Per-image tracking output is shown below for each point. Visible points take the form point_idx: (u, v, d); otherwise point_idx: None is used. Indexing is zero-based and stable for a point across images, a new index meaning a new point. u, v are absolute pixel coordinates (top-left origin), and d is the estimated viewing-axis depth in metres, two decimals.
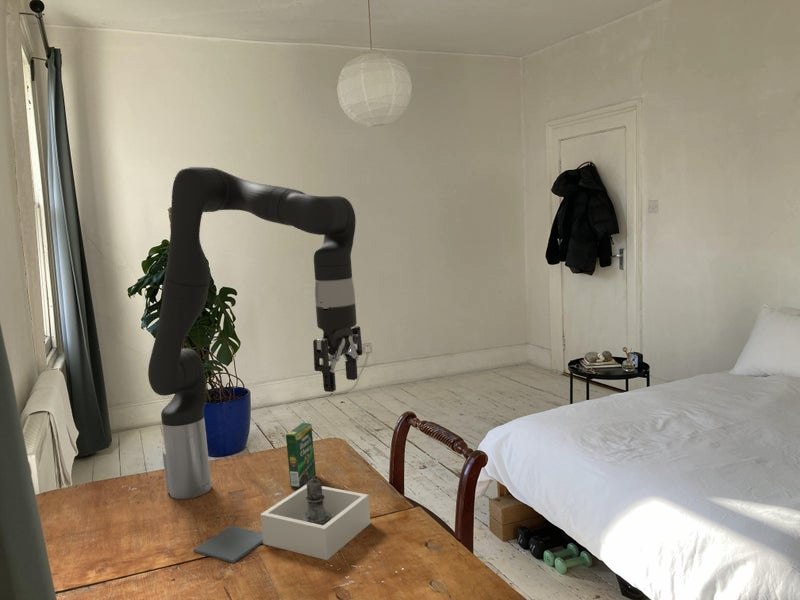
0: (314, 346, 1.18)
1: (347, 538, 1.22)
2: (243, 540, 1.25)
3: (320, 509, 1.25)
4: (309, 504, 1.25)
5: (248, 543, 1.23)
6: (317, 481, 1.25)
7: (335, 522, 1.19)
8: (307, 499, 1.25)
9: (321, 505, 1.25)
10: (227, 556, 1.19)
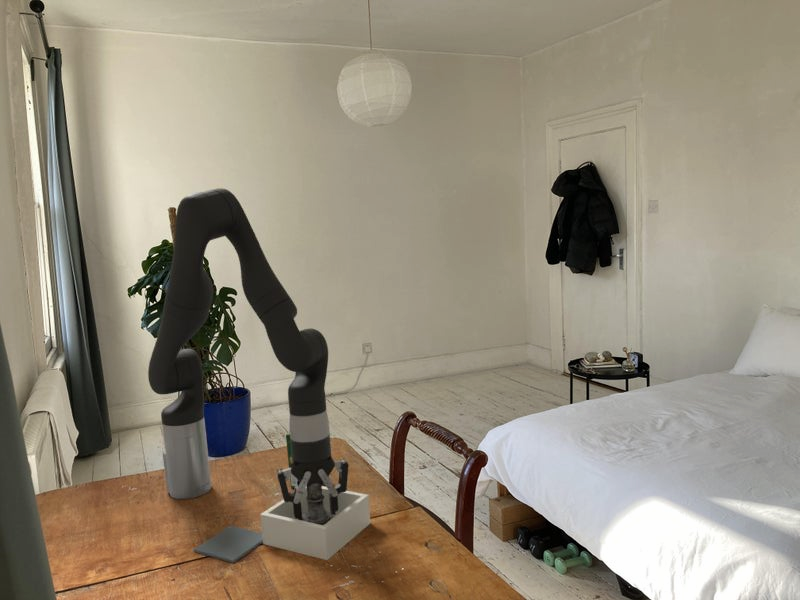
0: (347, 468, 1.26)
1: (347, 538, 1.22)
2: (243, 540, 1.25)
3: (320, 509, 1.25)
4: (309, 504, 1.25)
5: (248, 543, 1.23)
6: None
7: (335, 522, 1.19)
8: (307, 499, 1.25)
9: (321, 505, 1.25)
10: (227, 556, 1.19)
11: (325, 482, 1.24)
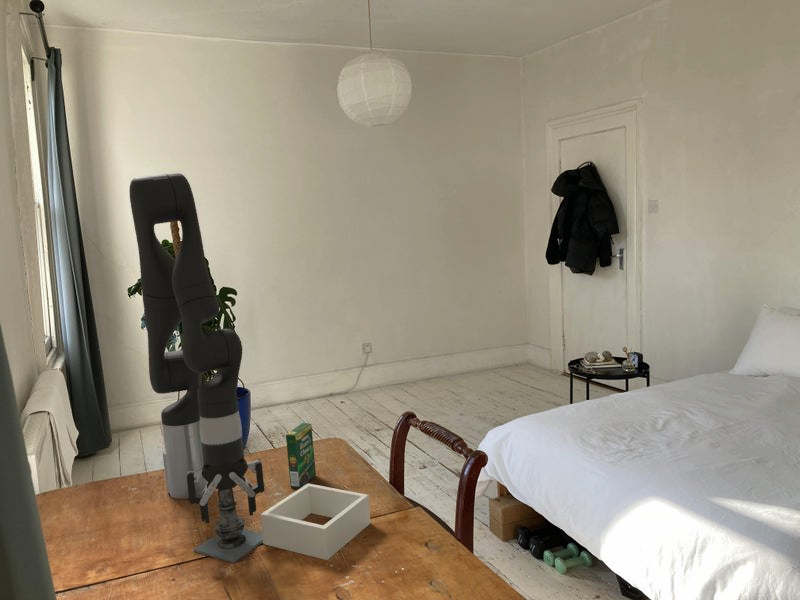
0: None
1: (347, 538, 1.22)
2: None
3: (232, 516, 1.23)
4: (220, 511, 1.23)
5: (248, 543, 1.23)
6: None
7: (335, 522, 1.19)
8: (218, 506, 1.23)
9: (233, 512, 1.23)
10: (227, 556, 1.19)
11: (239, 484, 1.22)
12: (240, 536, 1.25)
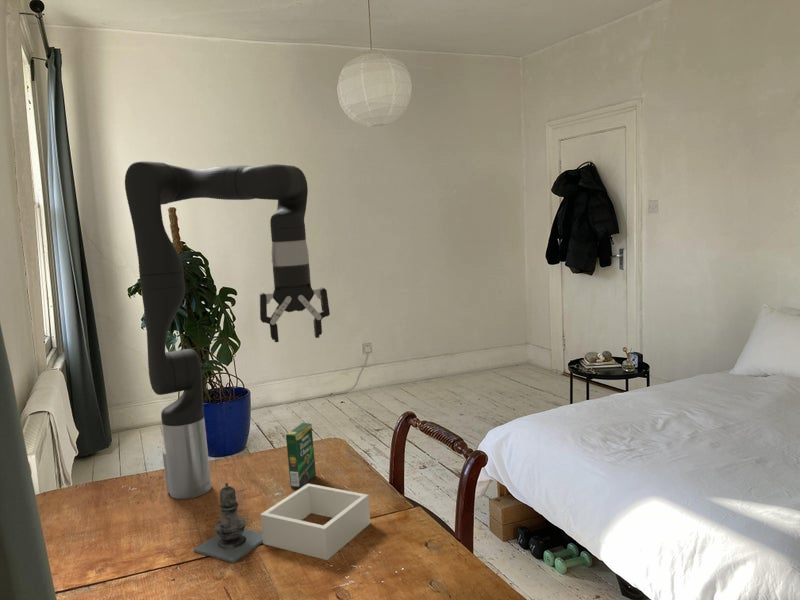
0: (326, 294, 1.36)
1: (347, 538, 1.22)
2: None
3: (233, 517, 1.23)
4: (222, 512, 1.22)
5: (248, 543, 1.23)
6: (230, 488, 1.23)
7: (335, 522, 1.19)
8: (220, 507, 1.23)
9: (234, 513, 1.23)
10: (227, 556, 1.19)
11: (307, 307, 1.34)
12: (240, 537, 1.25)
